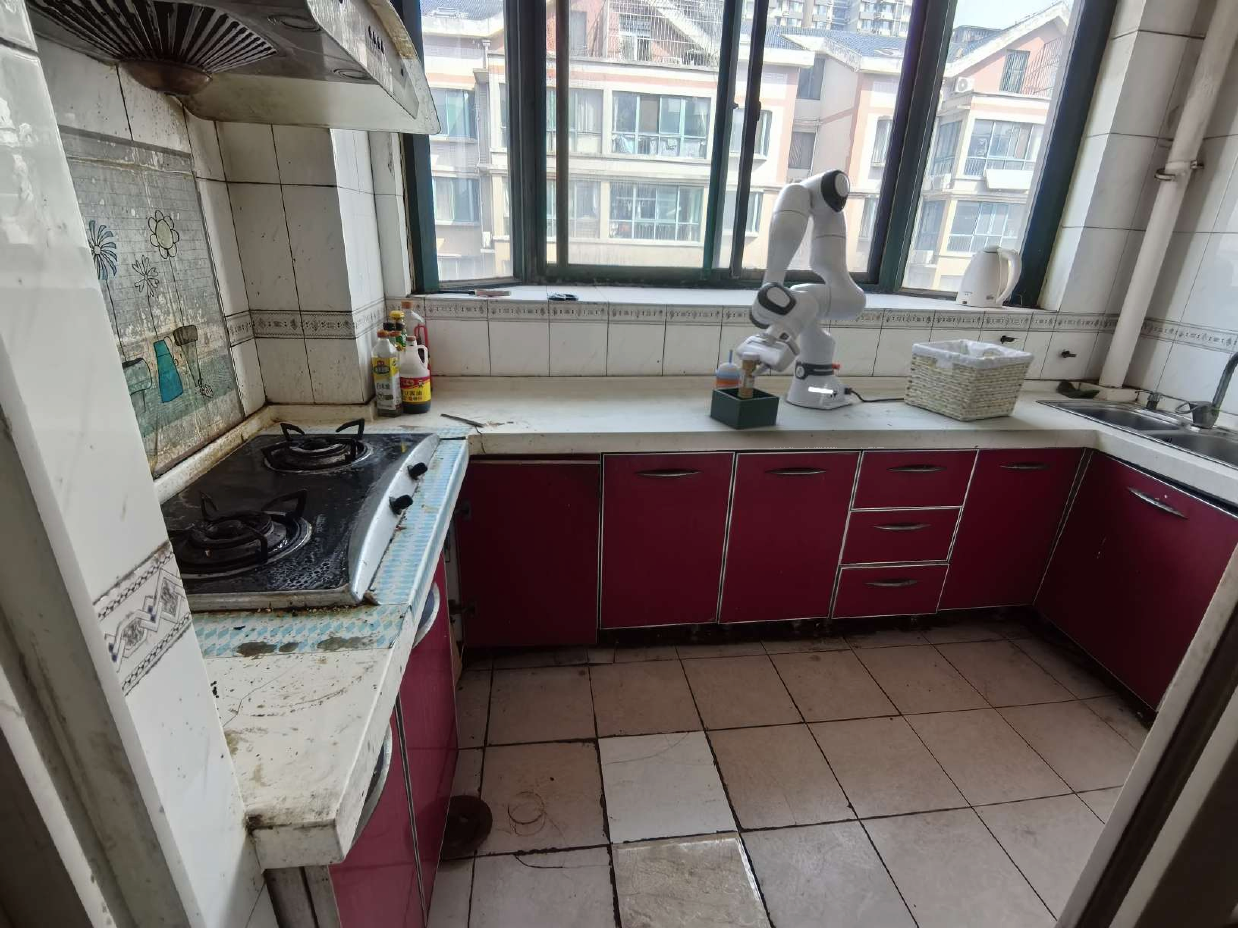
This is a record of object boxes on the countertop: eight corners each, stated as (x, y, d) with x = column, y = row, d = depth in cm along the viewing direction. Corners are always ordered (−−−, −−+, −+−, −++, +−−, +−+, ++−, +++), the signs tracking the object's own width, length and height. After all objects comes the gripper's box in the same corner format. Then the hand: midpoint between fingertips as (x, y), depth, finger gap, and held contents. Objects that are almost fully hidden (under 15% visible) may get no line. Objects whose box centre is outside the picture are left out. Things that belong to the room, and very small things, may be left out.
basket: (963, 425, 187) (982, 356, 179) (895, 401, 209) (910, 340, 201) (1019, 417, 197) (1039, 352, 189) (948, 396, 220) (964, 337, 212)
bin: (747, 411, 190) (750, 385, 187) (775, 424, 179) (779, 396, 175) (709, 416, 184) (712, 389, 180) (736, 429, 172) (740, 401, 169)
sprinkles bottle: (751, 399, 176) (757, 355, 171) (736, 398, 177) (742, 353, 172) (753, 396, 180) (759, 352, 175) (738, 394, 181) (743, 350, 176)
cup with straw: (738, 408, 193) (745, 353, 186) (710, 405, 194) (716, 351, 187) (739, 401, 201) (745, 348, 194) (712, 398, 203) (717, 346, 196)
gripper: (749, 326, 183) (720, 359, 182) (795, 338, 166) (763, 374, 165) (759, 340, 186) (730, 373, 186) (805, 353, 169) (773, 389, 169)
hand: (746, 374), depth 175 cm, fingers closed on sprinkles bottle, 4 cm apart
